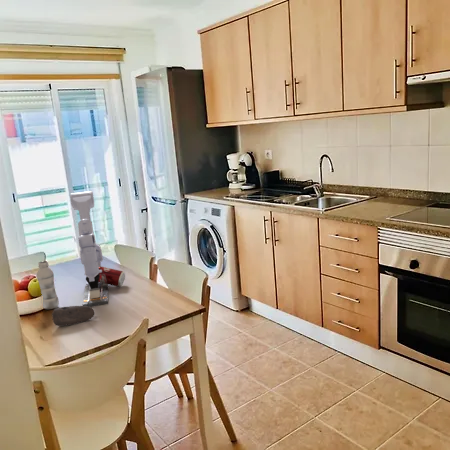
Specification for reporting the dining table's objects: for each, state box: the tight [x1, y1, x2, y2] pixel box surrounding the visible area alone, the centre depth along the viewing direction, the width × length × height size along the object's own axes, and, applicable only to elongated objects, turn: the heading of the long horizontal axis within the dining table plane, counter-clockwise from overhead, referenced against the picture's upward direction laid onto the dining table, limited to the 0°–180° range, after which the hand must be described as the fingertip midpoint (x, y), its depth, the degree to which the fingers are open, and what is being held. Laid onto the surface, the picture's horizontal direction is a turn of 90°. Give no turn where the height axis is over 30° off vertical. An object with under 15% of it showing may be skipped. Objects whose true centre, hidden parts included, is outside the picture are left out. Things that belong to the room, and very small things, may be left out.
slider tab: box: [89, 288, 100, 299], centre depth 186 cm, size 3×4×4 cm
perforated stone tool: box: [51, 305, 96, 327], centre depth 166 cm, size 15×5×7 cm, turn 105°
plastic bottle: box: [36, 260, 60, 310], centre depth 181 cm, size 6×7×20 cm
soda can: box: [98, 265, 126, 288], centre depth 201 cm, size 7×7×12 cm
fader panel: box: [81, 283, 109, 308], centre depth 192 cm, size 23×10×2 cm, turn 14°
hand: (95, 292), depth 189 cm, fingers closed
